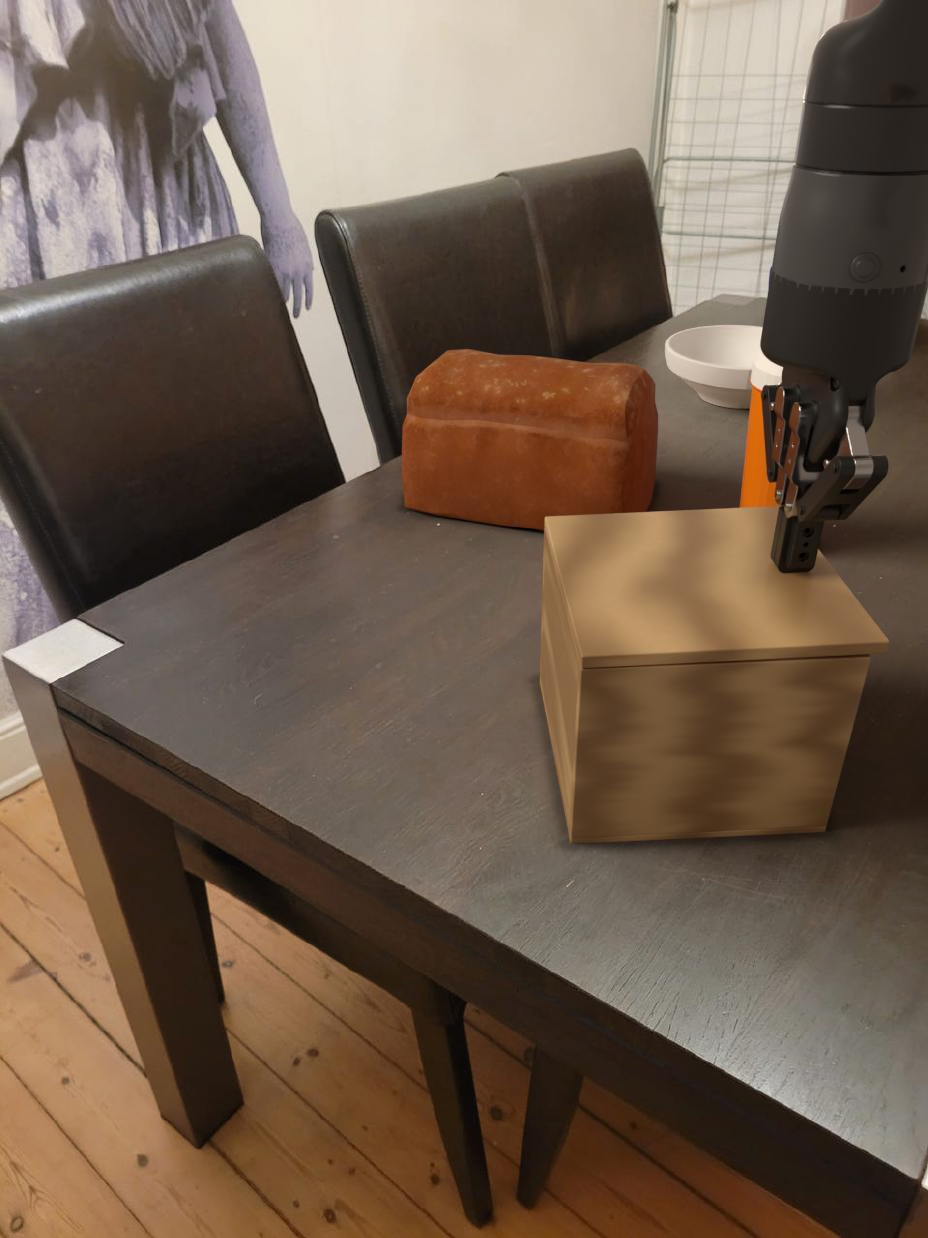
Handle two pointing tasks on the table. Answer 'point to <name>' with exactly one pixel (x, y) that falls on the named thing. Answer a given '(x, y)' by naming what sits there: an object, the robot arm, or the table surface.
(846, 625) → the chest lid
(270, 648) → the table surface
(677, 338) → the bowl
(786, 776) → the chest
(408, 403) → the bread
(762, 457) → the shaker bottle
